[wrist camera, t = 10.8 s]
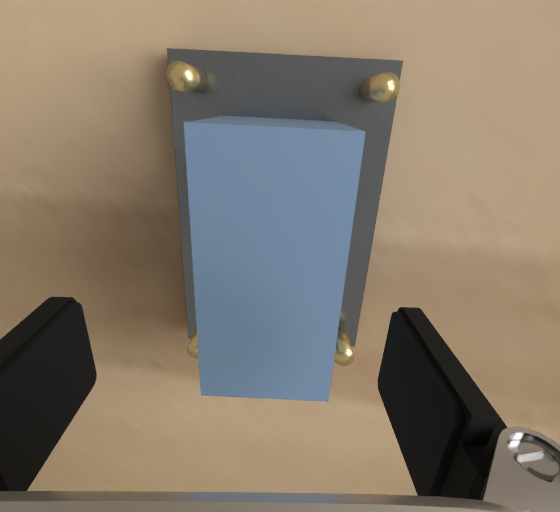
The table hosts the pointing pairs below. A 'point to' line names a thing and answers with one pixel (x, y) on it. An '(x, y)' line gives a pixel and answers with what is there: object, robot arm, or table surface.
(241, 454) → the table surface
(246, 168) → the blue block
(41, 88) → the table surface
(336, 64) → the dowel plate
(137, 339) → the table surface
